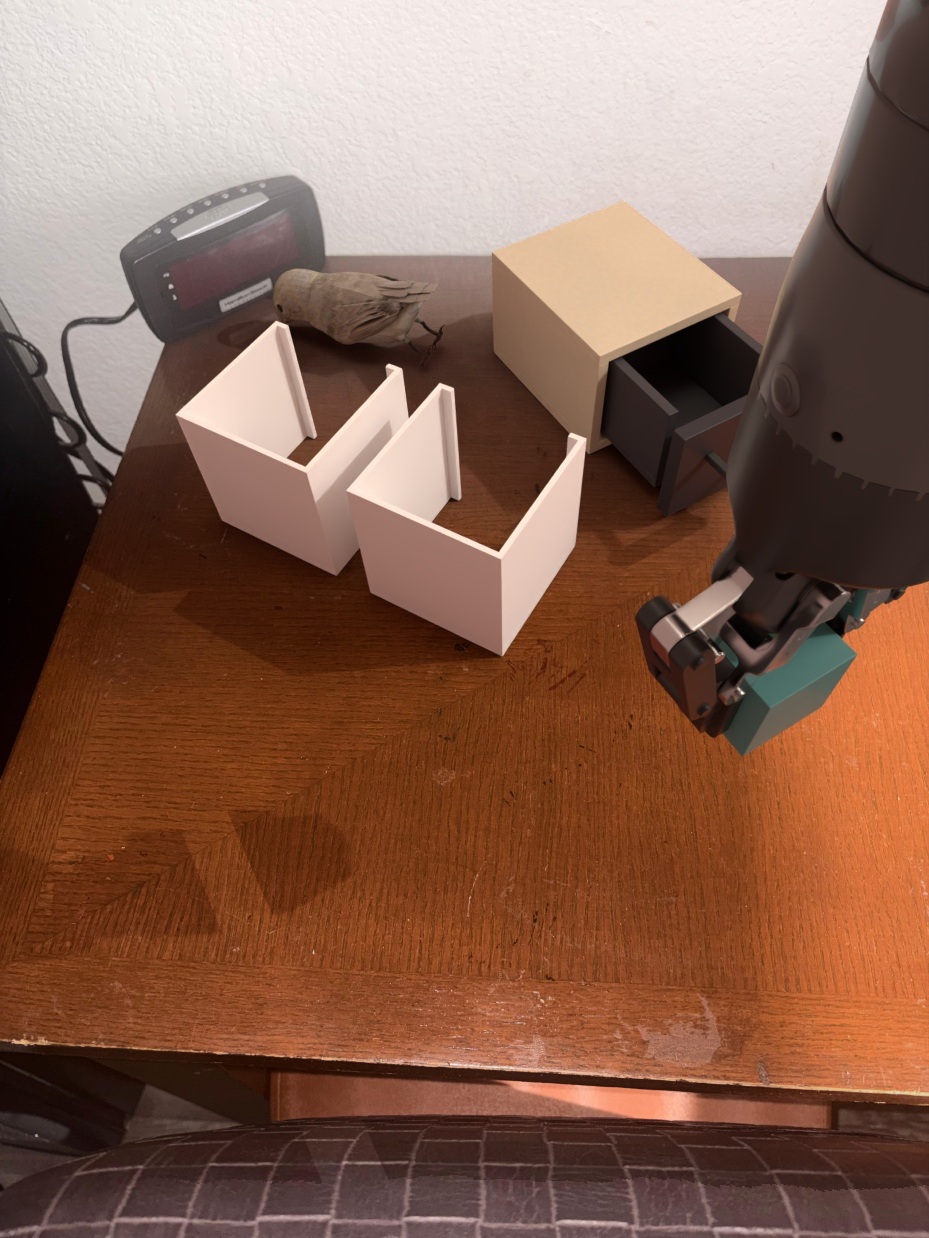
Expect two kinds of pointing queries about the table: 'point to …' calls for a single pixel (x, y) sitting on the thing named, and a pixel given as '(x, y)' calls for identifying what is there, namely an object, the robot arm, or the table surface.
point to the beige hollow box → (594, 306)
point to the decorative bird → (354, 305)
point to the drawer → (681, 407)
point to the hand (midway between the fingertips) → (750, 688)
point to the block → (789, 689)
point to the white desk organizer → (374, 493)
